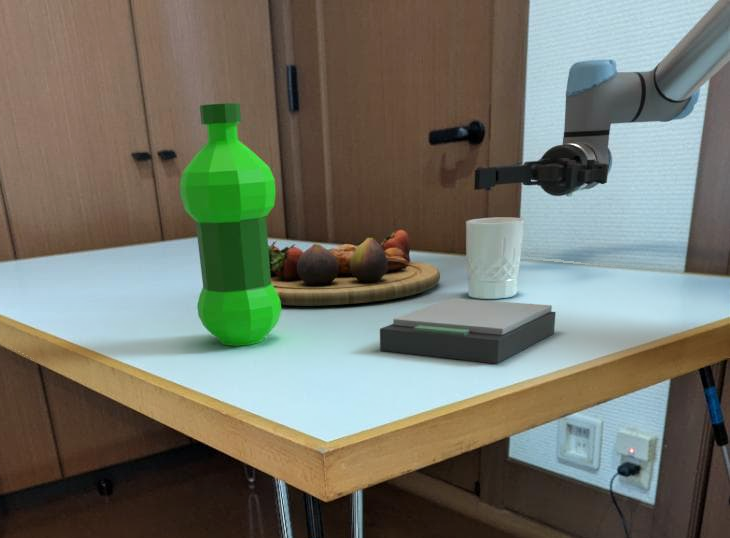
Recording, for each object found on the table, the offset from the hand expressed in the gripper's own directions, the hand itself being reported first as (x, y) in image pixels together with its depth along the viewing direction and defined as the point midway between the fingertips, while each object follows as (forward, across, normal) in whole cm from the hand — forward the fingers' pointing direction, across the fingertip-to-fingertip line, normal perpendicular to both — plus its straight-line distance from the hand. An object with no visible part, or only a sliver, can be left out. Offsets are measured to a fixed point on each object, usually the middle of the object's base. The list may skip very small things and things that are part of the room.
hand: (521, 178), depth 115 cm
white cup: (+10, 0, -15) cm, 18 cm away
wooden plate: (+11, +25, -15) cm, 31 cm away
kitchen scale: (+38, -8, -14) cm, 41 cm away
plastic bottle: (+46, +18, -15) cm, 51 cm away
